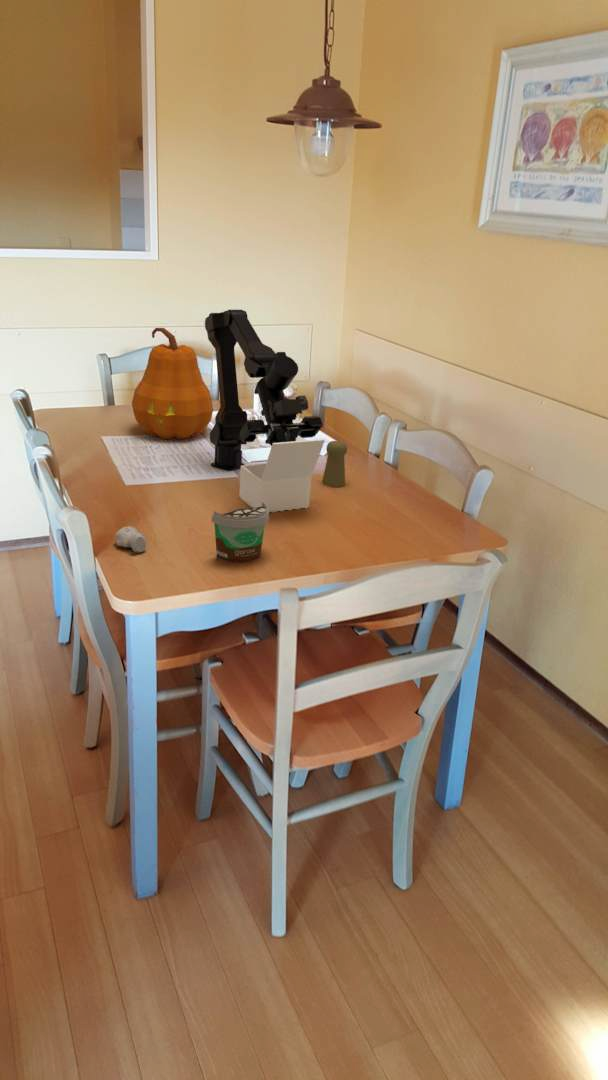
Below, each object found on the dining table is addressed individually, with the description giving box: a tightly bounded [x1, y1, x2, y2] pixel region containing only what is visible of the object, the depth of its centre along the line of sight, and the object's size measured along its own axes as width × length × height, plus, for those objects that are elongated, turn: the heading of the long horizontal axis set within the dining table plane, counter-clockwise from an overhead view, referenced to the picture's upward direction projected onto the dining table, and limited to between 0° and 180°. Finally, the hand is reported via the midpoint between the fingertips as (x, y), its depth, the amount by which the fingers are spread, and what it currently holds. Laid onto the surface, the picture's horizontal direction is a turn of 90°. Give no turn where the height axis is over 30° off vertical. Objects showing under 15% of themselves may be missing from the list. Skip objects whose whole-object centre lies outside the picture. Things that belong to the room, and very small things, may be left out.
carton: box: [238, 463, 313, 514], centre depth 191 cm, size 11×13×8 cm
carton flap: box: [262, 438, 326, 481], centre depth 181 cm, size 11×13×1 cm
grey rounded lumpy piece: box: [115, 525, 147, 554], centre depth 163 cm, size 4×8×5 cm
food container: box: [210, 502, 270, 564], centre depth 161 cm, size 12×6×10 cm, turn 126°
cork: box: [321, 440, 348, 488], centre depth 206 cm, size 6×6×11 cm
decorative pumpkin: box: [131, 327, 214, 440], centre depth 234 cm, size 24×24×30 cm
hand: (291, 462), depth 182 cm, fingers closed, pressing on carton flap
